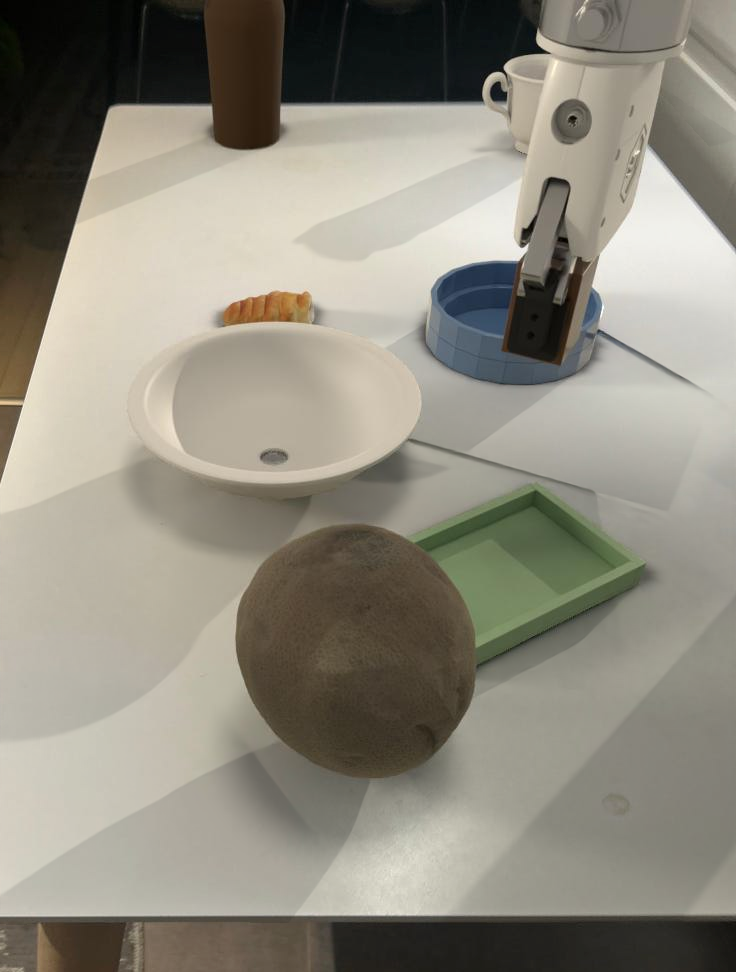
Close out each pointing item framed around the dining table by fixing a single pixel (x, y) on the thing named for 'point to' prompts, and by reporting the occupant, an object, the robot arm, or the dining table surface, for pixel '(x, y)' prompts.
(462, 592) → the tray
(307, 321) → the pastry
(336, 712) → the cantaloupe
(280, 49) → the olive oil
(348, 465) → the vessel sink basin
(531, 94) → the teacup
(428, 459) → the dining table surface
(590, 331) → the blue bowl
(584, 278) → the block
